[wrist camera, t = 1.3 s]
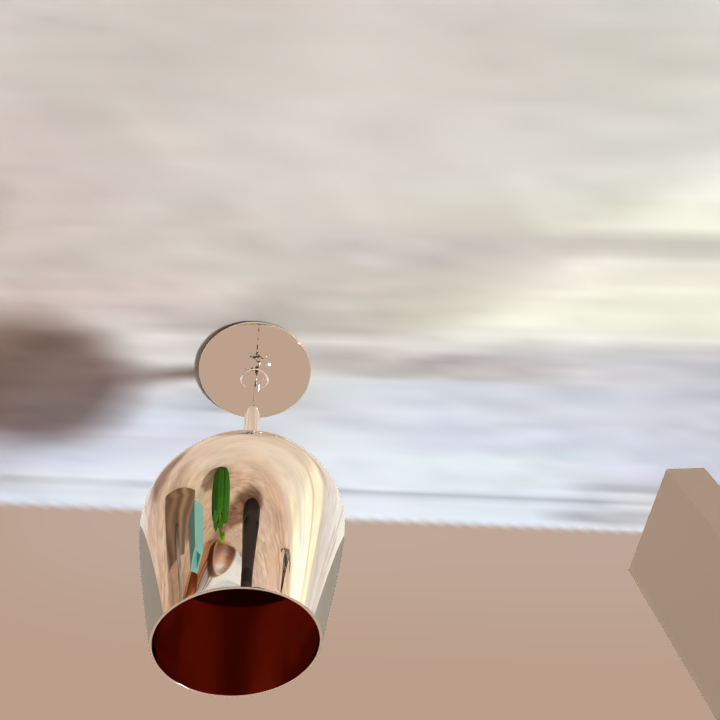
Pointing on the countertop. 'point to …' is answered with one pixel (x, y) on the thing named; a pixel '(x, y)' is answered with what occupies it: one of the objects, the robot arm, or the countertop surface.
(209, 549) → the wineglass
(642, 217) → the countertop surface
